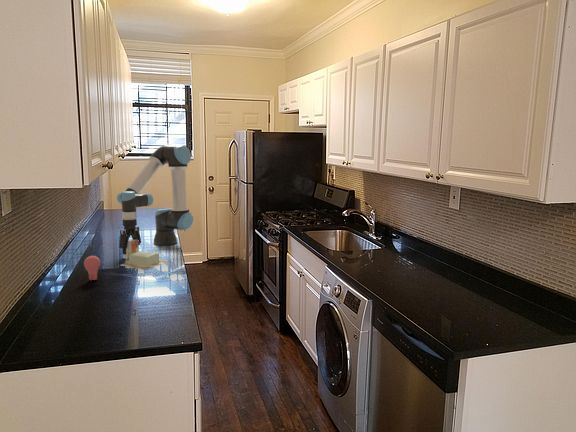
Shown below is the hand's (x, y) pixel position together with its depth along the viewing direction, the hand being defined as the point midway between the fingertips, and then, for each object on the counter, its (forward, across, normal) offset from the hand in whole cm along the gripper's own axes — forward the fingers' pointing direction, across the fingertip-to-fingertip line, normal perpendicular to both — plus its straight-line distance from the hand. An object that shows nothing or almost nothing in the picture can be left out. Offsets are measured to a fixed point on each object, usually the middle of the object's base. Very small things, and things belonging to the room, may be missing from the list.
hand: (131, 257), depth 250 cm
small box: (+1, 0, 0) cm, 1 cm away
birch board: (0, +9, +16) cm, 18 cm away
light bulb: (+1, +41, +11) cm, 42 cm away
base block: (-1, +9, +16) cm, 18 cm away
